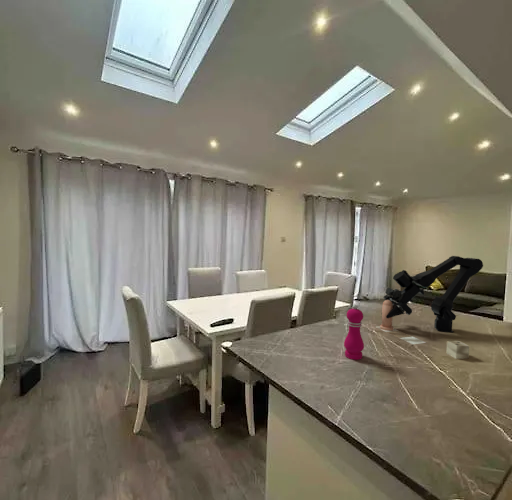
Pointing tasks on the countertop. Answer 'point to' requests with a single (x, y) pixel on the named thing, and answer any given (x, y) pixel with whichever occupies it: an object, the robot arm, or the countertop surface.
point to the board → (401, 334)
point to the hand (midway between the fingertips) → (384, 316)
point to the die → (457, 350)
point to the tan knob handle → (385, 310)
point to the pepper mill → (354, 334)
